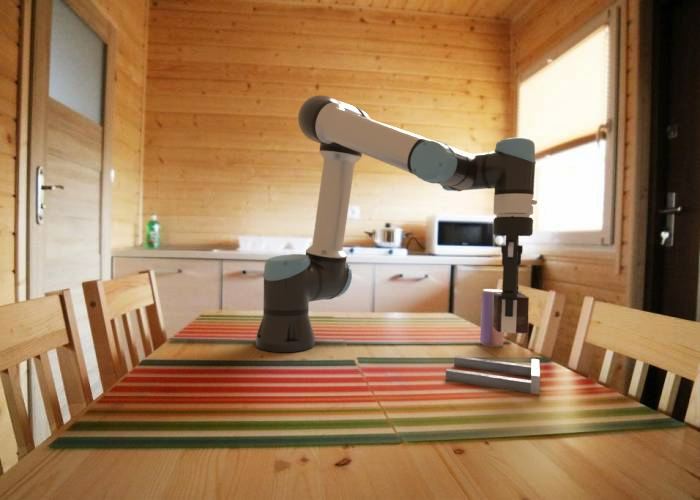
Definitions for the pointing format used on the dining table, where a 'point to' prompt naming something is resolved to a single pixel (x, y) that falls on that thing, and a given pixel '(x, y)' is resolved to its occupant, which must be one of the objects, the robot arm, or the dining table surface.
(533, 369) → the channel
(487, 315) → the beverage can
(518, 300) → the box
